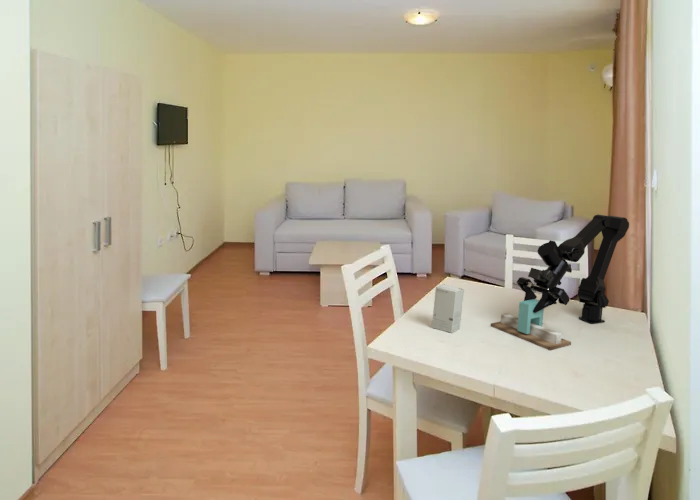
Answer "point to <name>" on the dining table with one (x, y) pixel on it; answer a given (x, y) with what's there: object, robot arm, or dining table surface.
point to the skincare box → (447, 308)
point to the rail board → (530, 337)
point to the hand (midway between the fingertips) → (528, 310)
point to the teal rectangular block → (528, 315)
